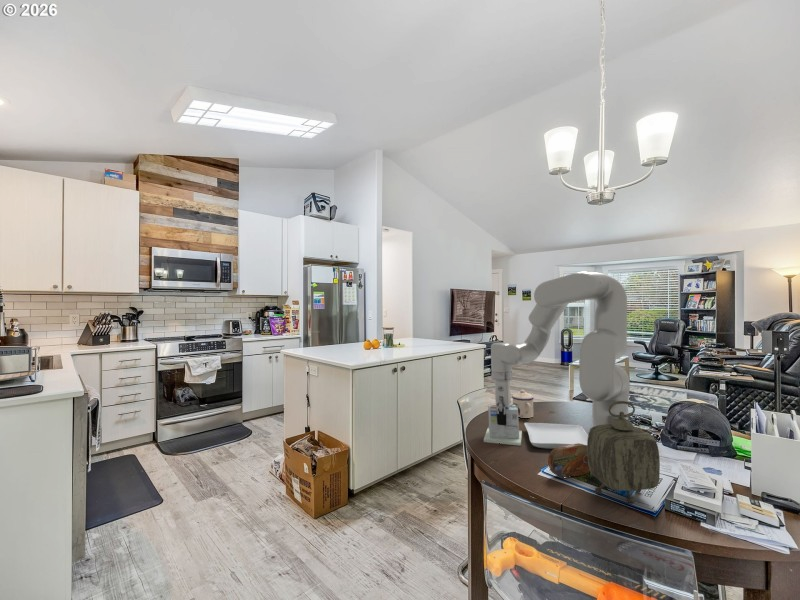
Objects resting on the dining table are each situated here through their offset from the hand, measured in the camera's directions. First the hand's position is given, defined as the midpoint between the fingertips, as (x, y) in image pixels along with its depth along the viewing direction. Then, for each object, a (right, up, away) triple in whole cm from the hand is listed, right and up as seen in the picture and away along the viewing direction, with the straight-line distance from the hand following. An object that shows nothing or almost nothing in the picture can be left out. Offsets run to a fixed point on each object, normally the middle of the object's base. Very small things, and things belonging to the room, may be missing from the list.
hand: (502, 420), depth 142 cm
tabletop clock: (+19, -6, -45) cm, 49 cm away
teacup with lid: (+16, -6, +24) cm, 30 cm away
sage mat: (0, -6, 0) cm, 6 cm away
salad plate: (+19, -7, -5) cm, 20 cm away
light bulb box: (0, -6, 0) cm, 6 cm away
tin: (+12, -6, -31) cm, 34 cm away
